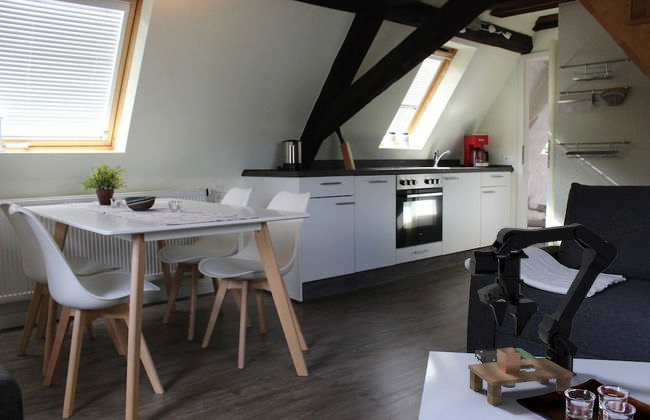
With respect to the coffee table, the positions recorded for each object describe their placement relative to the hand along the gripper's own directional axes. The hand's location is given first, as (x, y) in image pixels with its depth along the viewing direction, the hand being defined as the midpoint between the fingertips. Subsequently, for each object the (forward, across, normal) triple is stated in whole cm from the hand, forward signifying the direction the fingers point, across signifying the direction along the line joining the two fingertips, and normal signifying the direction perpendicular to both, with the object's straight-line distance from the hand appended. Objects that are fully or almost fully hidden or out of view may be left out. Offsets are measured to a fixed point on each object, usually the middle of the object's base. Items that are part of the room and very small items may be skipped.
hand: (508, 331), depth 159 cm
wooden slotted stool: (+12, +12, -4) cm, 17 cm away
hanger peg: (+10, +12, -7) cm, 17 cm away
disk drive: (+13, -9, +5) cm, 16 cm away
